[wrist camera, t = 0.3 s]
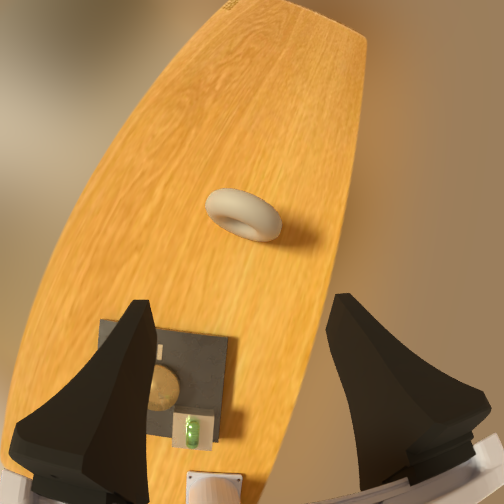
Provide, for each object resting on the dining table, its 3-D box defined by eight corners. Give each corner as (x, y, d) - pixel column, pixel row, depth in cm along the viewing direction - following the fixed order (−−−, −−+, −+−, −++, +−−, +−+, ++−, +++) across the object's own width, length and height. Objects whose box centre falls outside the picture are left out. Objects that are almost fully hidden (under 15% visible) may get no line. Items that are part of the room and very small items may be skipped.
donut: (200, 223, 42) (200, 197, 33) (210, 201, 43) (214, 171, 34) (267, 252, 43) (286, 235, 34) (275, 230, 44) (296, 208, 34)
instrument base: (217, 438, 37) (220, 456, 31) (99, 420, 35) (85, 434, 29) (227, 336, 40) (231, 340, 34) (103, 318, 38) (88, 319, 32)
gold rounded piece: (181, 366, 37) (177, 378, 30) (178, 409, 36) (174, 428, 29) (97, 352, 36) (77, 359, 29) (95, 394, 34) (77, 408, 28)
